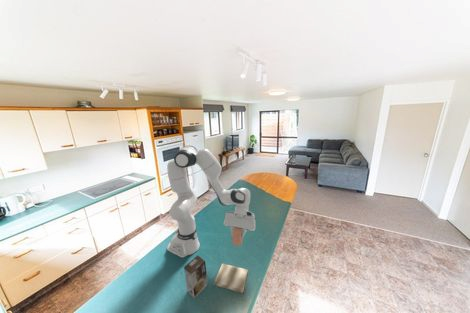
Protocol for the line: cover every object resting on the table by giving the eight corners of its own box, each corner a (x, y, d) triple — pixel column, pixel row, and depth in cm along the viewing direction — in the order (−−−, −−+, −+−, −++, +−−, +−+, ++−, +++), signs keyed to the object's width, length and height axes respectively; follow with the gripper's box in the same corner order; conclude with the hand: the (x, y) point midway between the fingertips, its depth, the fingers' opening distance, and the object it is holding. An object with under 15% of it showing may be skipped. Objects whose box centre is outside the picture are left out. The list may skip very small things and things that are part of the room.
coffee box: (200, 278, 94) (198, 254, 90) (208, 285, 90) (205, 260, 86) (186, 291, 87) (183, 266, 83) (194, 299, 83) (191, 273, 79)
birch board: (214, 284, 90) (214, 281, 90) (222, 266, 101) (222, 263, 101) (242, 293, 85) (242, 290, 85) (248, 272, 97) (247, 269, 96)
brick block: (232, 244, 102) (232, 231, 100) (235, 238, 106) (234, 226, 104) (240, 246, 100) (240, 233, 98) (242, 240, 105) (242, 228, 103)
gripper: (225, 209, 109) (220, 232, 102) (255, 214, 103) (252, 238, 96) (227, 211, 114) (222, 233, 107) (257, 216, 108) (254, 239, 101)
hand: (237, 235), depth 101 cm, fingers closed on brick block, 5 cm apart
